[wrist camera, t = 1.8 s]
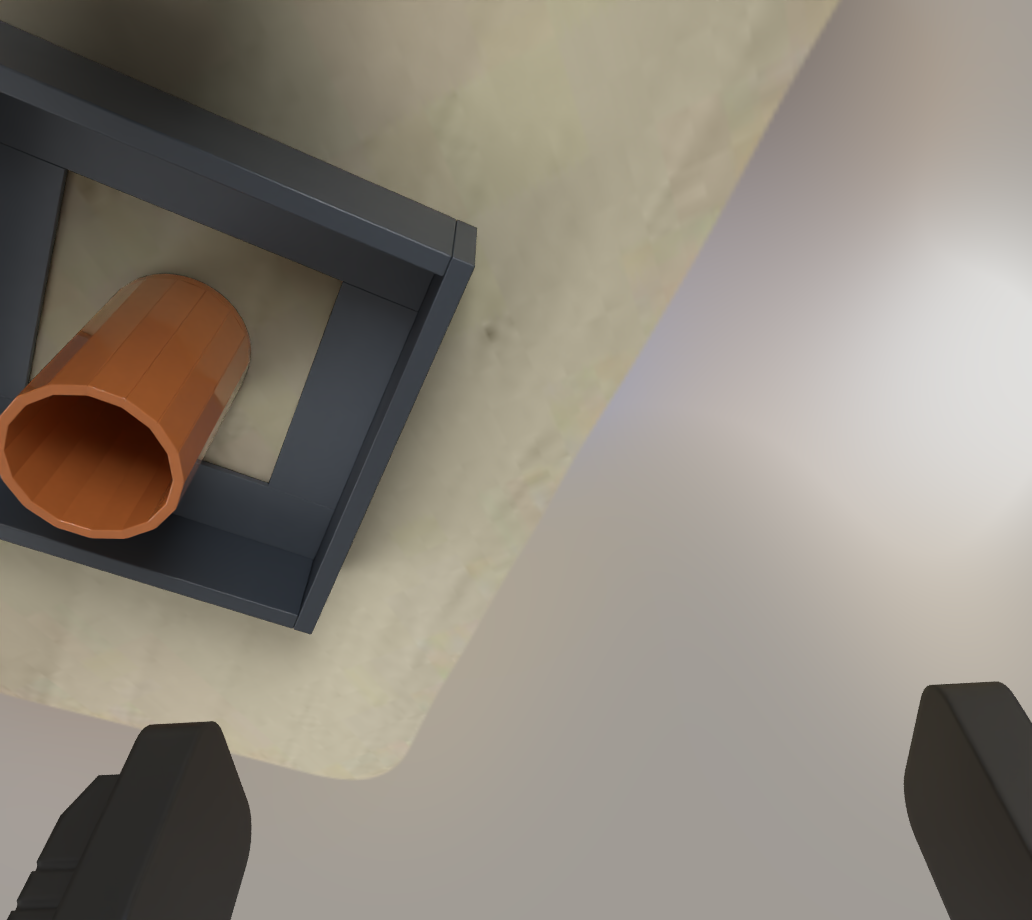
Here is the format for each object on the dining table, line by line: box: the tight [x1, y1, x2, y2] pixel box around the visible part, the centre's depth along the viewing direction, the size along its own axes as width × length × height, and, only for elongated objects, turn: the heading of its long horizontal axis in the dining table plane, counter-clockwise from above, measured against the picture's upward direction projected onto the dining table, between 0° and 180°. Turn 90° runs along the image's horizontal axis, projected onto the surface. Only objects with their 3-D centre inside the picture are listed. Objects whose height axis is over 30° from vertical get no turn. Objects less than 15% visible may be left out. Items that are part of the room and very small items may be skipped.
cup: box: [0, 274, 251, 539], centre depth 31 cm, size 6×6×9 cm
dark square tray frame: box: [0, 21, 477, 634], centre depth 33 cm, size 18×18×4 cm
